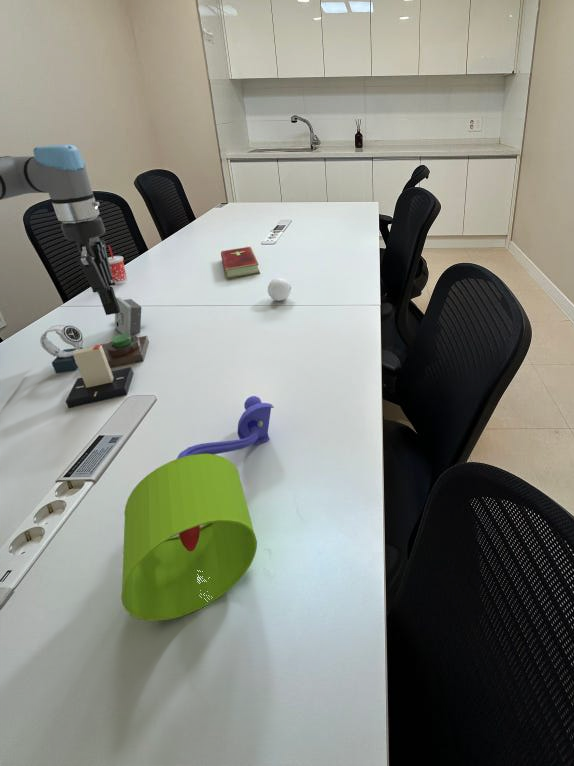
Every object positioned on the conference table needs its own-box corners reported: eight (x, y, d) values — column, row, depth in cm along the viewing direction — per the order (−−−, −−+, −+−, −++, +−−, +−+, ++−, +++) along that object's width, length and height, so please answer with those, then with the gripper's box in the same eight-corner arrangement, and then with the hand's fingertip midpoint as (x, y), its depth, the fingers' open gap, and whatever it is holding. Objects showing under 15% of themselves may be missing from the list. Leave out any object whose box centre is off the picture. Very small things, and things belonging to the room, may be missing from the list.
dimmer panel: (67, 410, 82) (64, 402, 81) (80, 383, 90) (77, 376, 89) (126, 397, 85) (123, 389, 84) (134, 372, 93) (131, 364, 92)
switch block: (88, 372, 93) (82, 359, 92) (97, 352, 101) (93, 339, 99) (143, 361, 97) (139, 348, 95) (149, 342, 105) (145, 329, 103)
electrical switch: (114, 328, 112) (108, 298, 109) (134, 322, 116) (129, 293, 112) (126, 339, 106) (120, 309, 103) (147, 333, 110) (141, 303, 107)
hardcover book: (226, 279, 141) (224, 269, 139) (222, 260, 158) (220, 250, 157) (260, 273, 145) (258, 263, 143) (252, 255, 163) (250, 245, 161)
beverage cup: (109, 281, 142) (97, 245, 136) (127, 276, 145) (117, 241, 140) (112, 286, 138) (100, 250, 132) (131, 281, 141) (120, 245, 136)
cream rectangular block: (86, 387, 85) (72, 353, 81) (88, 383, 86) (74, 349, 83) (112, 382, 87) (99, 348, 83) (113, 377, 88) (101, 344, 84)
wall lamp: (128, 382, 64) (121, 548, 40) (265, 366, 76) (323, 486, 52) (127, 453, 69) (121, 641, 45) (257, 427, 81) (307, 565, 56)
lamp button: (112, 349, 96) (110, 343, 95) (115, 341, 99) (113, 335, 98) (130, 346, 97) (128, 340, 96) (133, 337, 100) (131, 332, 100)
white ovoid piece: (293, 302, 123) (291, 281, 120) (269, 306, 121) (266, 285, 118) (290, 289, 132) (287, 269, 129) (267, 292, 130) (265, 272, 127)
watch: (84, 369, 94) (69, 331, 90) (47, 374, 93) (30, 335, 89) (95, 356, 99) (81, 319, 95) (60, 360, 98) (44, 323, 94)
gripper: (92, 224, 80) (125, 322, 90) (107, 210, 91) (135, 298, 101) (49, 229, 78) (87, 329, 87) (70, 213, 89) (102, 303, 99)
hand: (113, 312), depth 94 cm, fingers closed
